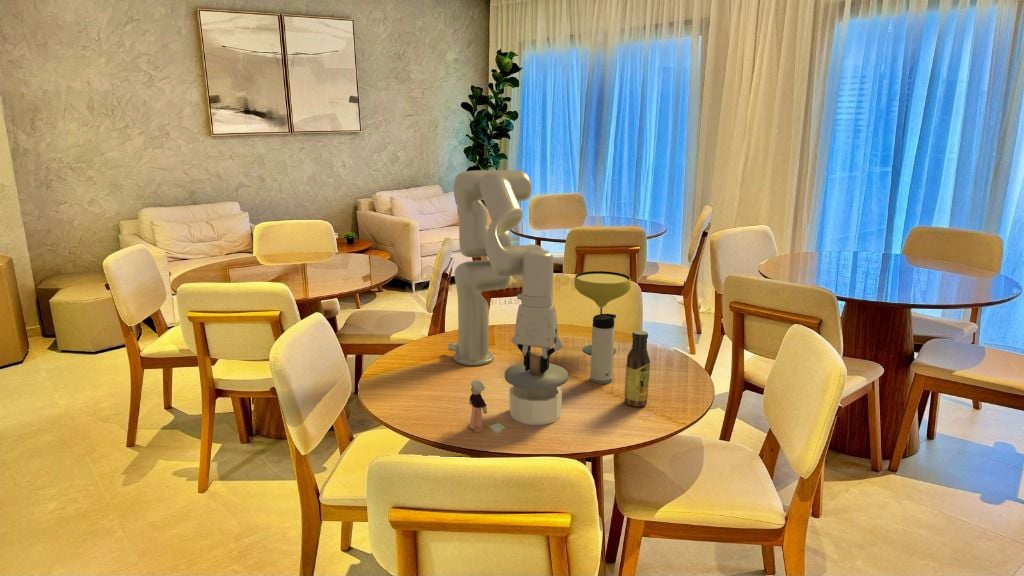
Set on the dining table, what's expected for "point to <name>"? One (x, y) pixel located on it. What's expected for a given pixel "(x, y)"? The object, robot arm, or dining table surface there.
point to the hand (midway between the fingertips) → (536, 369)
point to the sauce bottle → (637, 371)
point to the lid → (536, 374)
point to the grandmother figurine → (477, 406)
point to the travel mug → (602, 348)
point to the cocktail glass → (601, 289)
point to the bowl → (535, 405)
